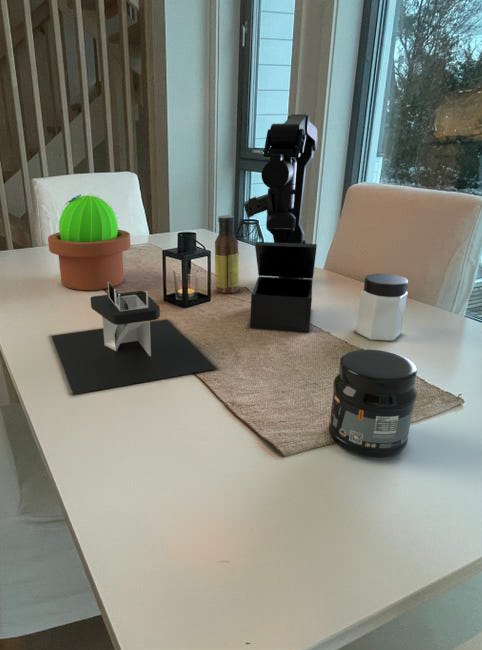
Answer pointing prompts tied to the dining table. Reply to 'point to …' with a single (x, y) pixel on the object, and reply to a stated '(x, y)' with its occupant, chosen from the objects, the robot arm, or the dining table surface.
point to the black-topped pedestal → (126, 346)
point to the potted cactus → (89, 245)
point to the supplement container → (373, 403)
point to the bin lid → (285, 259)
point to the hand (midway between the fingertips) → (278, 251)
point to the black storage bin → (281, 304)
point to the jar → (382, 307)
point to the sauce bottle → (226, 257)
